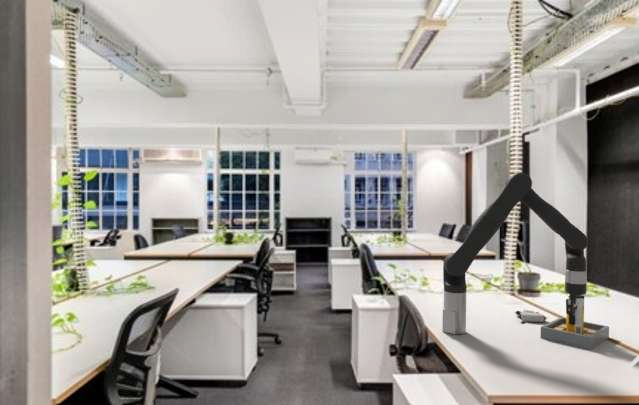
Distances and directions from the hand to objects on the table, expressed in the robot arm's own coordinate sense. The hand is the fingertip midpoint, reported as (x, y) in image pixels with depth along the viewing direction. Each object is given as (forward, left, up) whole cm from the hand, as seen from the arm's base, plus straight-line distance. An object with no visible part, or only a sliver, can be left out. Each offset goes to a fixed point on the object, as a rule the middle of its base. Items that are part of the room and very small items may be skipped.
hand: (574, 322), depth 178 cm
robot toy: (+15, +24, -7) cm, 29 cm away
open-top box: (0, 0, -7) cm, 7 cm away
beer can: (0, 0, -5) cm, 5 cm away
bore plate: (0, 0, -6) cm, 6 cm away
